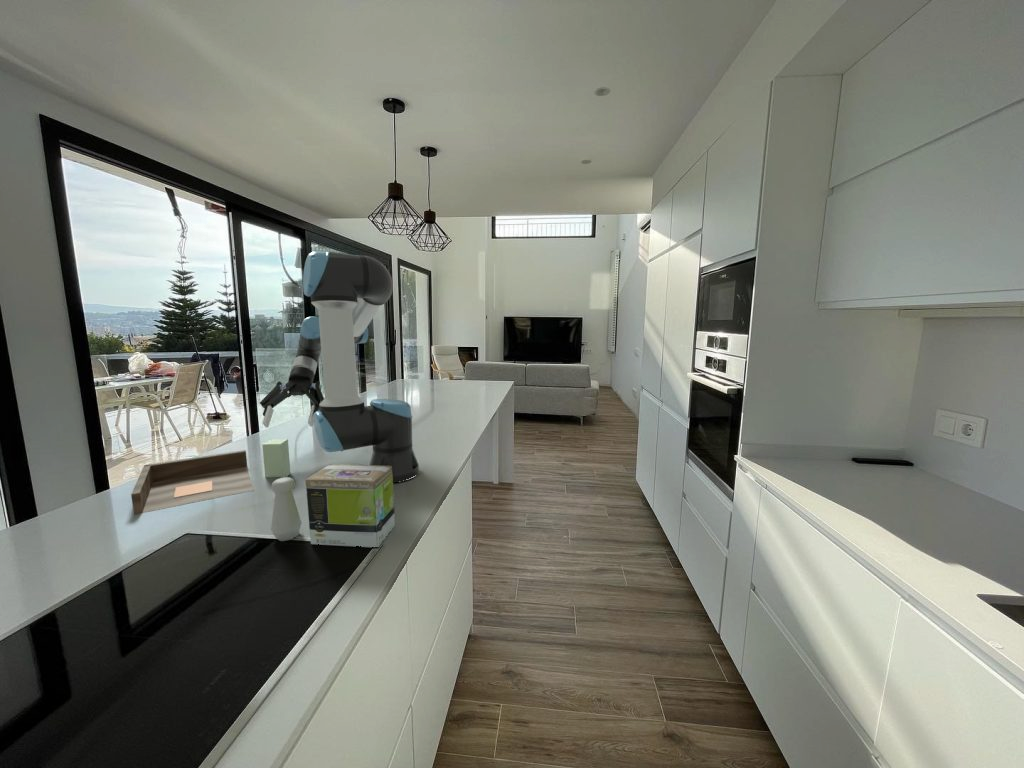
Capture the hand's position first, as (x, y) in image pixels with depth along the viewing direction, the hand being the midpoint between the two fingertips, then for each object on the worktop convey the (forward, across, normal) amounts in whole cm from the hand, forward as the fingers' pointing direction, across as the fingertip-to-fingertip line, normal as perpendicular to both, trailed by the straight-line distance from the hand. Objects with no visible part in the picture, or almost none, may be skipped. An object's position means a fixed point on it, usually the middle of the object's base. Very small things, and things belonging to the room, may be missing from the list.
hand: (287, 424), depth 130 cm
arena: (+22, +17, +3) cm, 28 cm away
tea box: (+43, -32, +23) cm, 58 cm away
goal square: (+23, +17, +5) cm, 29 cm away
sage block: (+16, 0, -3) cm, 17 cm away
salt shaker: (+42, -18, +23) cm, 51 cm away
